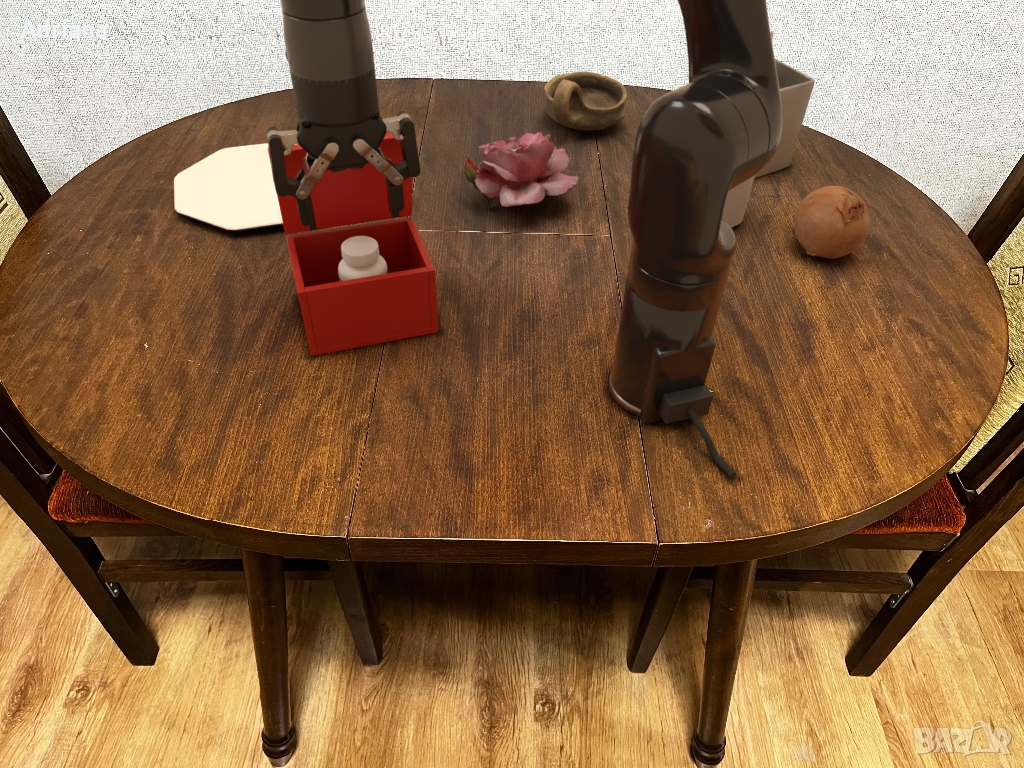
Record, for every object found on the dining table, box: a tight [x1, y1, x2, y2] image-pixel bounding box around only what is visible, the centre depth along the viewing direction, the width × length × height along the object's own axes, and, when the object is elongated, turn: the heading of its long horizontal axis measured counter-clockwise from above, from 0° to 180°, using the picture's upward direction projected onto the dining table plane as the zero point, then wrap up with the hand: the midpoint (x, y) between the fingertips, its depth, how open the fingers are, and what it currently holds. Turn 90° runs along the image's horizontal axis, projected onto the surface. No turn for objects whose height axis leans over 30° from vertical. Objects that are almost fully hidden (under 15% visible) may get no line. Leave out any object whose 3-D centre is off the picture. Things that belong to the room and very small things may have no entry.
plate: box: [173, 142, 295, 232], centre depth 110 cm, size 24×24×2 cm
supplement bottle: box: [338, 236, 388, 281], centre depth 86 cm, size 5×5×10 cm
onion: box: [791, 185, 871, 259], centre depth 100 cm, size 10×9×10 cm
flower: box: [463, 131, 579, 210], centre depth 107 cm, size 15×15×10 cm
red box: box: [285, 216, 439, 357], centre depth 87 cm, size 11×15×9 cm
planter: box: [754, 31, 816, 179], centre depth 114 cm, size 16×8×19 cm, turn 164°
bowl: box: [544, 70, 628, 131], centre depth 124 cm, size 14×18×10 cm
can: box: [722, 175, 755, 229], centre depth 104 cm, size 8×8×12 cm
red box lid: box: [267, 132, 414, 235], centre depth 84 cm, size 12×15×5 cm
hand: (354, 219), depth 79 cm, fingers open, 8 cm apart
